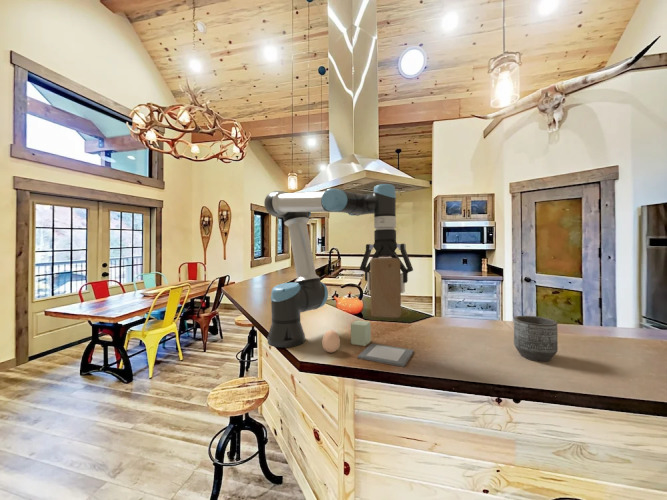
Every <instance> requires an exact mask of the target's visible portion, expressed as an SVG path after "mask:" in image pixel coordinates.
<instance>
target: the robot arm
mask: <svg viewBox="0 0 667 500" xmlns="http://www.w3.org/2000/svg"><path fill="white" fill-rule="evenodd" d="M396 194H397V193H396V186H395V185H393V184H389V183H381V184H376V185H375V186H374V187H373V192H370V193H362V194H361V193H357V192H352V191H348V190H344V189H340V188H332V187H330V188H327V189H326V190H317V191H304V192H303V191H300V192H289V191H288V192H286V191H284V190H283V191H281V190H274V191H271V192H269V193H268V194H266V196H265V198H264V203H263V204H264V208H265V211H266V212H267V213H268V214H269V215H270V216H272V217H275V218H280V219H281V218H282V220H283V224H284V225H285V226H286V227H288V232H289V238H290V244H291V250H292V255H293V261H294V262H293V263H294V269H295V273H296V279H295V280H294V282H285V283H280V284H276V285H275V286H273V288H272V289H271V295H270V300H271V301H270V302H271V303H270V304H271V325H270V328H269V332H268V335H267V344H268V345H269V346H271V347H274V348H292V347H297V346H300V345H302V344H303V343H304V342H306V341H305V340H306V335H305V332H304V327H303V326H302V322H301V313H305V312H308V311H312V310H313V311H314V310H318V309H320V308H323V307H324V305H325V304H326V302H327V301H328V298H329V289H328V288H327V286H326V284H325V283H323V281H321V277H320V276H319V275H317V273H316V268H315V262H314V257H313V252H312V247H311V241H310V235H309V229H308V222H309V221H310V217H311V216H312V213H342V214H343V213H345V214H348V215H349V216H357V217H358V216H363V215H370V214H371V215H372V214H373V217H374V219H373V220H374V224H373V227H374V229H375V230H374V233H373V235H374V242H373V244H371V243H368V244H366V245H365V251H364V254H363V258H362V260H361V264H360V266H359V270H360V271H363V272H364V280H365V281H366V283H367V284H366V285H367V286H366V287H367V291H368V292H371V274H370V261H371V259H372V258H378V257H384V256H385V257H392V258H399V259H400V257H399V256H398V254H397V252H396V250H397V248H398V250H400V254H401V256H402V259H403V261H404V263H405V264H404V263H403V262H402V261H401V259H400V274H401V294H404V293H405V291H406V289H405V288H406V286H405V285H406V283H408V280H409V277H408V276H409V275H408V274H409V273H410V272H413V271H414V268H413V265H412V263H411V260H410V257H409V255H408V253H407V249H406V248H407V247H406V244H405V243H397V230H396V228H397V216H396V215H397V214H396V203H397V201H396V199H397V195H396ZM373 249H374V250H375V252H374V253H373V256H372V257H371V259H370V256H371V253H372V251H373ZM369 259H370V261H369Z"/></svg>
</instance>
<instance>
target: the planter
mask: <svg viewBox="0 0 667 500" xmlns="http://www.w3.org/2000/svg"><path fill="white" fill-rule="evenodd" d="M558 331H559V330H558V321H556V320H554V319H552V318H548V317H547V318H546V317H544V316H543V317H542V316H537V315H536V316H535V315H517V316H513V345H514V347H515V349H516V350H517V352H518V353H519V355H520V356H521V357H522V358H525V359H526V360H529V361H534V362H543V363H544V362H546V363H547V362H550V361H551V360H552V359H553V358H554V357H555V355H556V354H557V353H558V350H559V349H558V348H559V347H558Z"/></svg>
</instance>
